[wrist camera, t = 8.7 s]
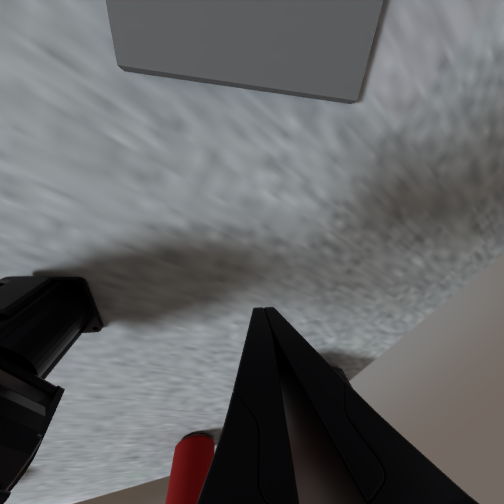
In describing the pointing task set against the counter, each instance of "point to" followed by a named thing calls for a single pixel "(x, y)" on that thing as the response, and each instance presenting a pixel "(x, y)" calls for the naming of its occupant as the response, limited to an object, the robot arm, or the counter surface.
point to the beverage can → (189, 469)
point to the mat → (250, 43)
